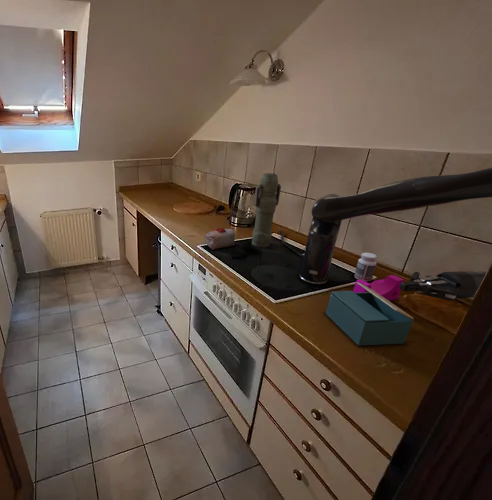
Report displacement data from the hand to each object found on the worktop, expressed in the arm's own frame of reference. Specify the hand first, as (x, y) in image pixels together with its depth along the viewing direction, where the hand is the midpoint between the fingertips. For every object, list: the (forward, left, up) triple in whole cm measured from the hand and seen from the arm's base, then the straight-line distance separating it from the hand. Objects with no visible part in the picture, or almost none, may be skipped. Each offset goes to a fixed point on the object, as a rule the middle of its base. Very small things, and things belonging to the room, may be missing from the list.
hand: (402, 286), depth 84 cm
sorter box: (-1, -8, -14) cm, 16 cm away
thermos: (-68, 0, -14) cm, 70 cm away
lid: (-1, -4, -4) cm, 6 cm away
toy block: (-14, +9, -14) cm, 22 cm away
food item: (-71, -21, -14) cm, 76 cm away
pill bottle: (-26, +18, -14) cm, 35 cm away
